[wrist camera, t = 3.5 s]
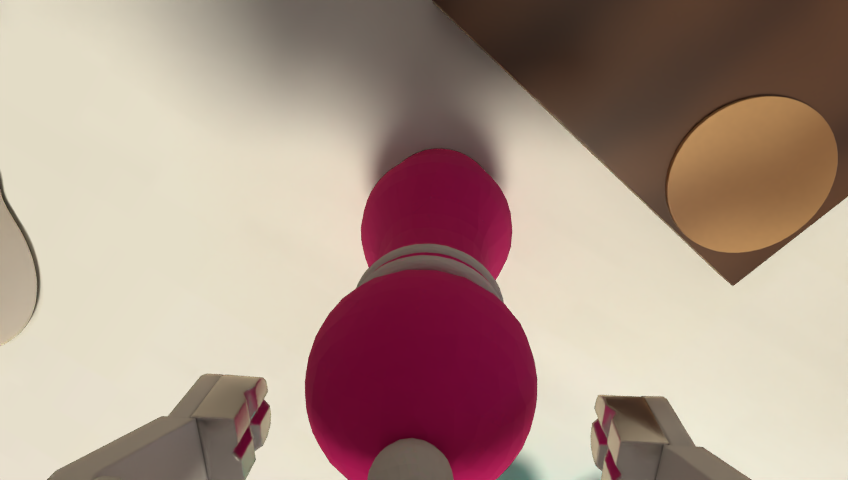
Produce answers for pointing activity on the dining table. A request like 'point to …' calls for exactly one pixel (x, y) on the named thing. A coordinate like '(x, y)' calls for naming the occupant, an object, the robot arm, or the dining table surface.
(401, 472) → the pepper mill
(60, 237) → the dining table surface
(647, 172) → the serving board
